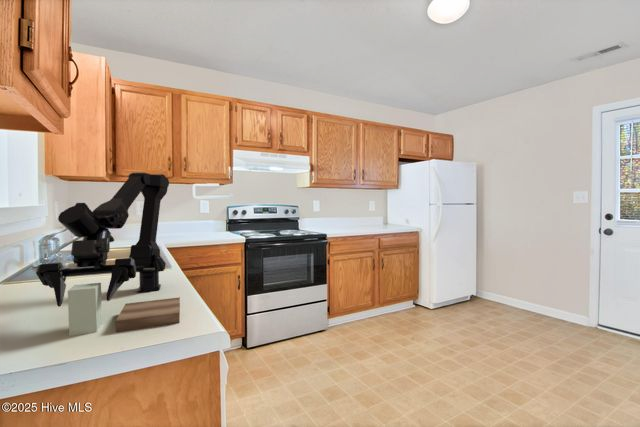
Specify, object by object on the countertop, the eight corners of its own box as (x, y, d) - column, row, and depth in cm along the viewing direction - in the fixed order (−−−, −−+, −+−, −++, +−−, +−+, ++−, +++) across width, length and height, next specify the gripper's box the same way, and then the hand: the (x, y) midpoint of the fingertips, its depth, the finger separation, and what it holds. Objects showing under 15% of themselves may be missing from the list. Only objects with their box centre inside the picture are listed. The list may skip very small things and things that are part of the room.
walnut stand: (125, 313, 81) (125, 303, 81) (179, 306, 87) (179, 297, 87) (116, 332, 69) (115, 321, 69) (179, 322, 75) (179, 312, 75)
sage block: (76, 327, 72) (75, 285, 72) (102, 323, 74) (100, 282, 74) (69, 335, 68) (67, 290, 67) (96, 331, 70) (95, 288, 69)
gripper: (37, 228, 70) (15, 289, 60) (133, 225, 77) (127, 279, 68) (52, 257, 77) (34, 315, 68) (138, 252, 85) (133, 303, 75)
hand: (83, 302), depth 69 cm, fingers open, 9 cm apart
